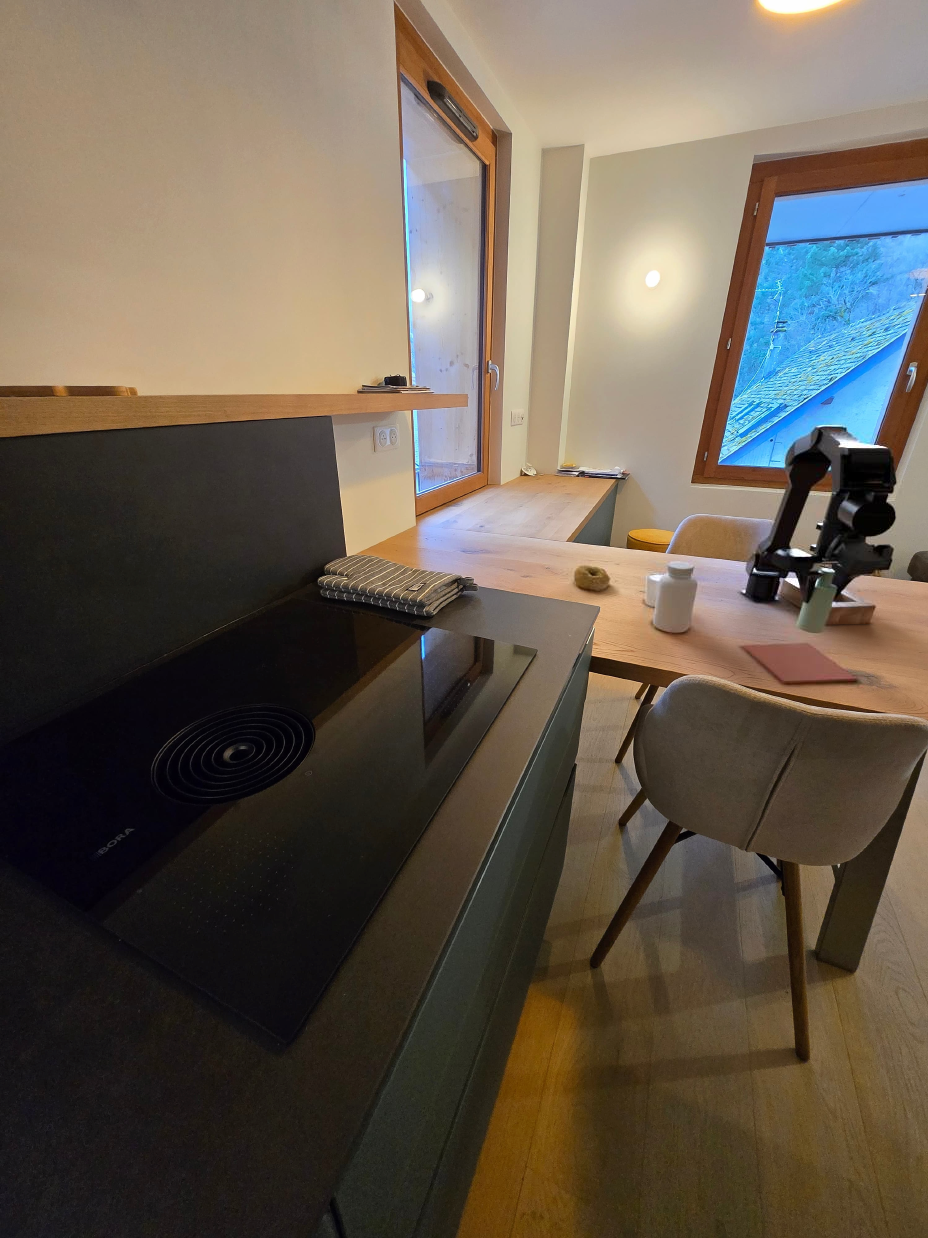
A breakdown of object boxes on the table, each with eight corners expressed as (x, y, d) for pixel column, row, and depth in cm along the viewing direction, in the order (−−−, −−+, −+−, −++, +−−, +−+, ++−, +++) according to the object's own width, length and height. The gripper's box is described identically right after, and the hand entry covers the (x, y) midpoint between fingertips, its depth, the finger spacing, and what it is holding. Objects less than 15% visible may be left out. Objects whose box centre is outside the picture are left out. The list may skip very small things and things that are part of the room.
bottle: (805, 633, 94) (824, 574, 89) (791, 623, 98) (808, 566, 93) (828, 632, 94) (848, 573, 89) (812, 622, 98) (831, 565, 93)
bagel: (583, 593, 133) (584, 576, 130) (567, 579, 142) (568, 563, 140) (617, 590, 134) (619, 573, 132) (599, 576, 144) (600, 560, 142)
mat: (783, 683, 92) (784, 681, 92) (742, 647, 105) (743, 645, 104) (856, 680, 93) (857, 678, 92) (806, 645, 105) (807, 643, 105)
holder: (826, 624, 114) (832, 607, 112) (778, 594, 130) (783, 578, 128) (869, 623, 114) (876, 605, 112) (816, 593, 130) (821, 577, 128)
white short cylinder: (670, 599, 128) (675, 574, 125) (671, 610, 122) (676, 583, 119) (642, 596, 130) (646, 571, 127) (642, 606, 124) (646, 580, 121)
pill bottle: (646, 619, 118) (655, 559, 111) (678, 617, 118) (690, 558, 112) (661, 634, 110) (672, 571, 104) (695, 632, 111) (708, 570, 104)
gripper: (823, 535, 80) (797, 622, 86) (935, 532, 80) (900, 618, 87) (780, 518, 90) (760, 597, 96) (880, 516, 90) (852, 594, 97)
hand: (817, 602), depth 94 cm, fingers closed on bottle, 4 cm apart
